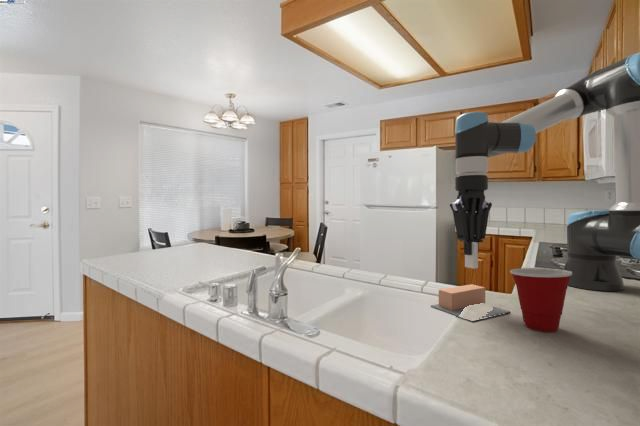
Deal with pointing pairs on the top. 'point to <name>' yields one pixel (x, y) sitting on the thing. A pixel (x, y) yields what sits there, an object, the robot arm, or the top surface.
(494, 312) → the slate mat
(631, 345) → the top surface
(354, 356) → the top surface
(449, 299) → the terracotta block
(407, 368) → the top surface
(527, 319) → the plastic cup
